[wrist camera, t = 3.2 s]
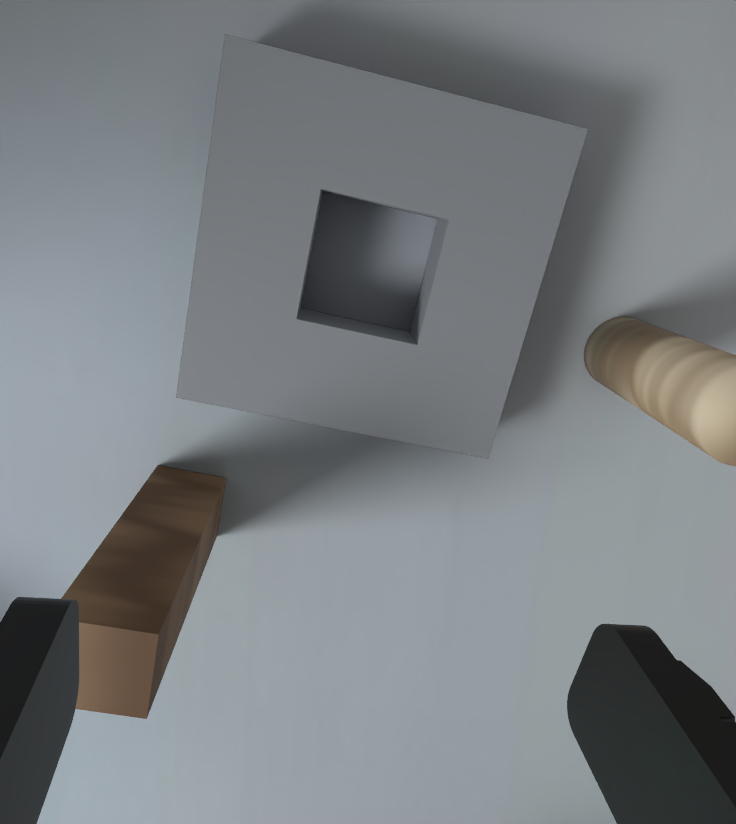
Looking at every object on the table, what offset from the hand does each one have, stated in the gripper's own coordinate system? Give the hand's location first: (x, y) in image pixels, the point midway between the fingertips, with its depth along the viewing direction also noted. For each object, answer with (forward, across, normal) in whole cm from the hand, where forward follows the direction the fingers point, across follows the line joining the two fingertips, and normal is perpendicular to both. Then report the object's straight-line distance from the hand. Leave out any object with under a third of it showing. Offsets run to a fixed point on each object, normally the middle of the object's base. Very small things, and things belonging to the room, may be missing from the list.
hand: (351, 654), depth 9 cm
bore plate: (+21, +3, +2) cm, 21 cm away
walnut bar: (+20, -4, -11) cm, 23 cm away
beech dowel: (+19, +15, 0) cm, 25 cm away
